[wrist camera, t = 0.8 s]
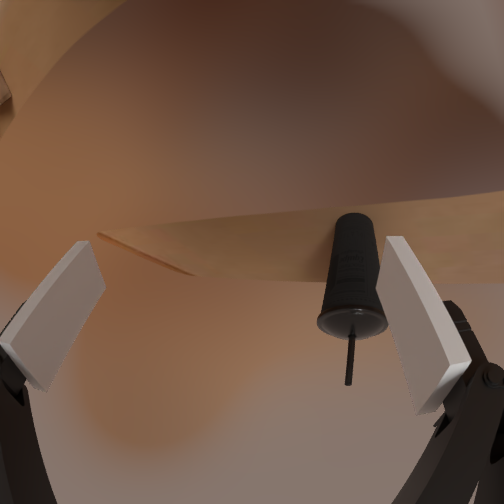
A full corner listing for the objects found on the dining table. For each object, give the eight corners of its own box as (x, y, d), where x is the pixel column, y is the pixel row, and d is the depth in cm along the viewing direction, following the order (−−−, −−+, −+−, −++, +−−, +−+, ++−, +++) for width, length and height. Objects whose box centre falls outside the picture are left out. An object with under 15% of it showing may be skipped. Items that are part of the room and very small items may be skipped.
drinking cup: (331, 246, 42) (317, 391, 31) (319, 208, 37) (300, 374, 25) (385, 242, 39) (386, 392, 28) (381, 201, 34) (387, 374, 22)
